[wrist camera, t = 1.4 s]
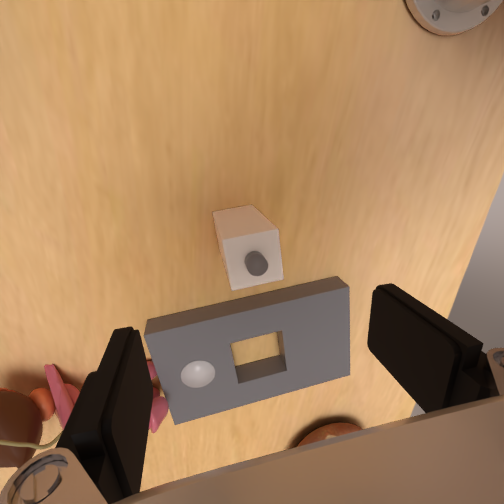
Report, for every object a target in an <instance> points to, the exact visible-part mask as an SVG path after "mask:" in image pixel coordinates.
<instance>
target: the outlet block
mask: <svg viewBox="0 0 504 504" xmlns="http://www.w3.org/2000/svg"><path fill="white" fill-rule="evenodd" d="M273 332H277V335H278V343H279V350H280V355H278V356H274V357H270V358H266V359H262V360H259V361H255V362H251V363H247V364H244V365H240V366H236V367H235V365H234V360H233V355H232V351H231V346H230V343H233V342H237V341H241V340H245V339H249V338H253V337H257V336H261V335H265V334H269V333H273ZM144 338H145V340H146V343H147V346H148V349H149V352H150V355H151V358H152V361H153V363H154V366H155V369H156V372H157V375H158V378H159V381H160V384H161V386H162V389H163V392H164V395H165V398H166V400H167V401H168V404H169V409H170V412H171V415H172V418H173V421H174V424H175V425H177V424H180V423H184V422H187V421H191V420H194V419H198V418H201V417H205V416H208V415H212V414H215V413H219V412H222V411H226V410H229V409H233V408H236V407H240V406H243V405H247V404H250V403H254V402H257V401H261V400H264V399H268V398H271V397H275V396H278V395H282V394H285V393H289V392H292V391H296V390H299V389H303V388H306V387H310V386H313V385H317V384H320V383H324V382H327V381H331V380H334V379H338V378H341V377H345V376H348V375H350V307H349V286H348V285H347V284H346V283H345V282H343V281H342V280H341V279H340V278H339V277H338V276H335V277H331V278H327V279H322V280H318V281H314V282H309V283H305V284H301V285H296V286H292V287H288V288H283V289H279V290H275V291H270V292H266V293H261V294H257V295H253V296H248V297H244V298H240V299H235V300H231V301H227V302H222V303H218V304H214V305H209V306H205V307H201V308H196V309H192V310H188V311H183V312H179V313H175V314H170V315H166V316H162V317H157V318H153V319H149V320H147V324H146V328H145V333H144Z"/></svg>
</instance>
